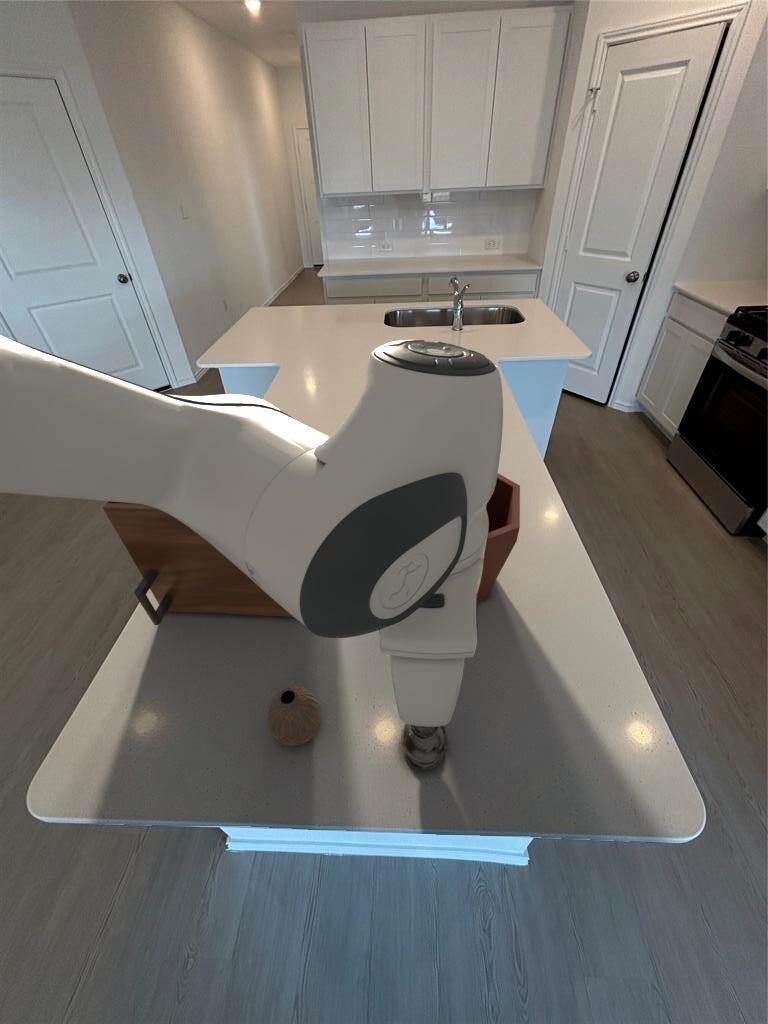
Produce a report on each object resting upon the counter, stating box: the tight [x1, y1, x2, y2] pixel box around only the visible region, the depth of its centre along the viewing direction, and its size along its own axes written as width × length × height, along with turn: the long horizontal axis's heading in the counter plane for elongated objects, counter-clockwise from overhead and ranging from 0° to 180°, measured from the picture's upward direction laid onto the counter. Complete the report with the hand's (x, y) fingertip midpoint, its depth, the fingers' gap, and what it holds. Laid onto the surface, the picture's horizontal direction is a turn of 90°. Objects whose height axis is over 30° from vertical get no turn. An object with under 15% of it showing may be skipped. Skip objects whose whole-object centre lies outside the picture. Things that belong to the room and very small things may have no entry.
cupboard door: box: [102, 502, 294, 626], centre depth 67 cm, size 6×26×24 cm, turn 85°
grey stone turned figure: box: [400, 723, 448, 771], centre depth 55 cm, size 6×6×12 cm
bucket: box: [478, 472, 521, 602], centre depth 73 cm, size 24×22×25 cm
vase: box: [267, 685, 322, 747], centre depth 58 cm, size 7×7×9 cm
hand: (423, 647), depth 44 cm, fingers closed
